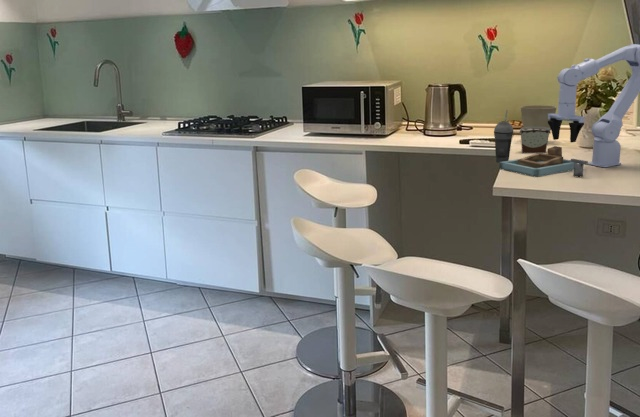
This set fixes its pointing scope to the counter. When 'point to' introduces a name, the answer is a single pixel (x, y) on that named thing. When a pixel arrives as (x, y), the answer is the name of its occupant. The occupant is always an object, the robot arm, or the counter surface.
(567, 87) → the robot arm
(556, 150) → the frame
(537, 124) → the plant pot
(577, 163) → the stake
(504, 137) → the beverage cup
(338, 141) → the counter surface
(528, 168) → the tray
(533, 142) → the food container
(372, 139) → the counter surface
